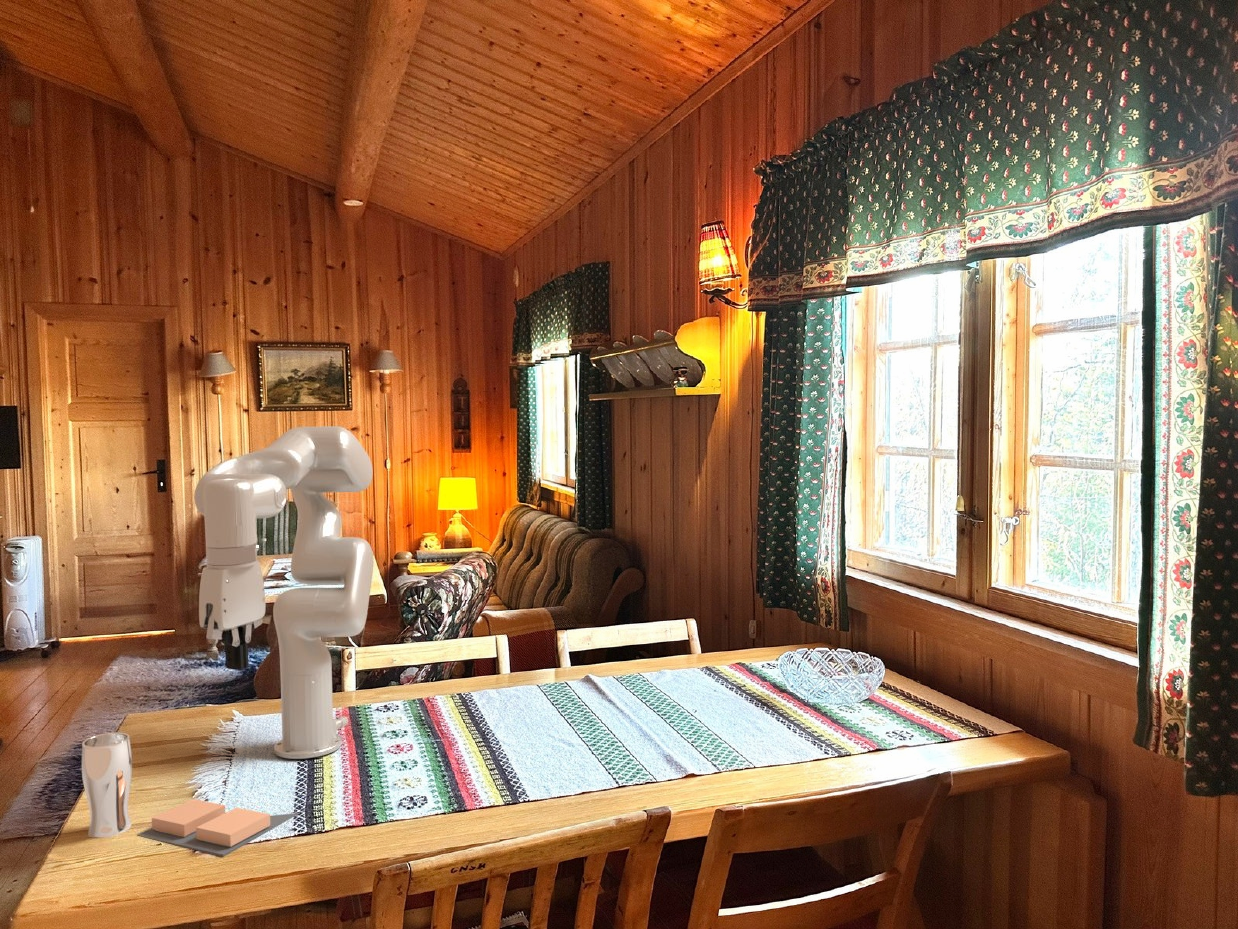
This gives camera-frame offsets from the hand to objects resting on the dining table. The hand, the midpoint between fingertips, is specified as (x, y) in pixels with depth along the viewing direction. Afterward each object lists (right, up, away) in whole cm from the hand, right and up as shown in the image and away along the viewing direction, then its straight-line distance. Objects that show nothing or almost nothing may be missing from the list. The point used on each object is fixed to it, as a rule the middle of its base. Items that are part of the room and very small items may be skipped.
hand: (237, 667), depth 150 cm
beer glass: (-19, -26, -3) cm, 32 cm away
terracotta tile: (-5, -23, +2) cm, 24 cm away
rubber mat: (-1, -25, -1) cm, 25 cm away
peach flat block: (+3, -23, -2) cm, 24 cm away
